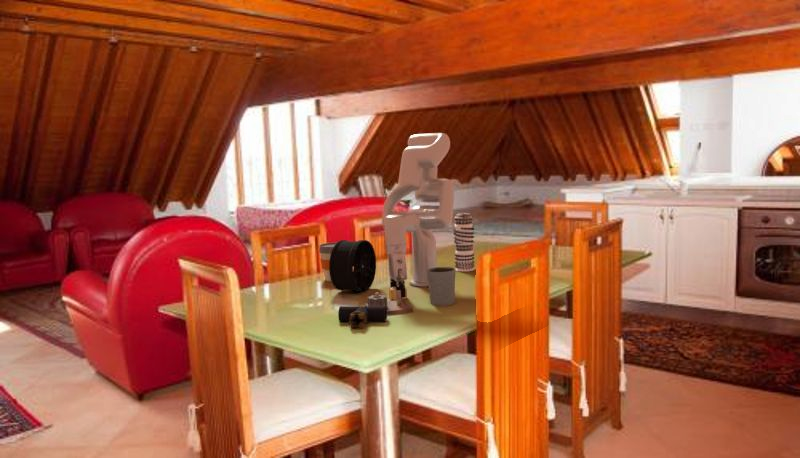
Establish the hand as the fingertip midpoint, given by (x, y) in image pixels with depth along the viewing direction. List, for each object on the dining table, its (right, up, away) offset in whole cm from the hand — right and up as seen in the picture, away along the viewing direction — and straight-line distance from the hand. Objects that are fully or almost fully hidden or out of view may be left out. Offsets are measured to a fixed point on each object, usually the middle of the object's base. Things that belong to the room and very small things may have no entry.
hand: (397, 294), depth 236 cm
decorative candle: (+30, +6, +47) cm, 56 cm away
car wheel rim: (-17, 0, +15) cm, 23 cm away
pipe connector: (-12, -7, -32) cm, 34 cm away
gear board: (-3, -4, -16) cm, 17 cm away
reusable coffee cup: (-27, +2, +39) cm, 47 cm away
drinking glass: (+16, -2, -9) cm, 18 cm away
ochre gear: (0, -1, 0) cm, 1 cm away
